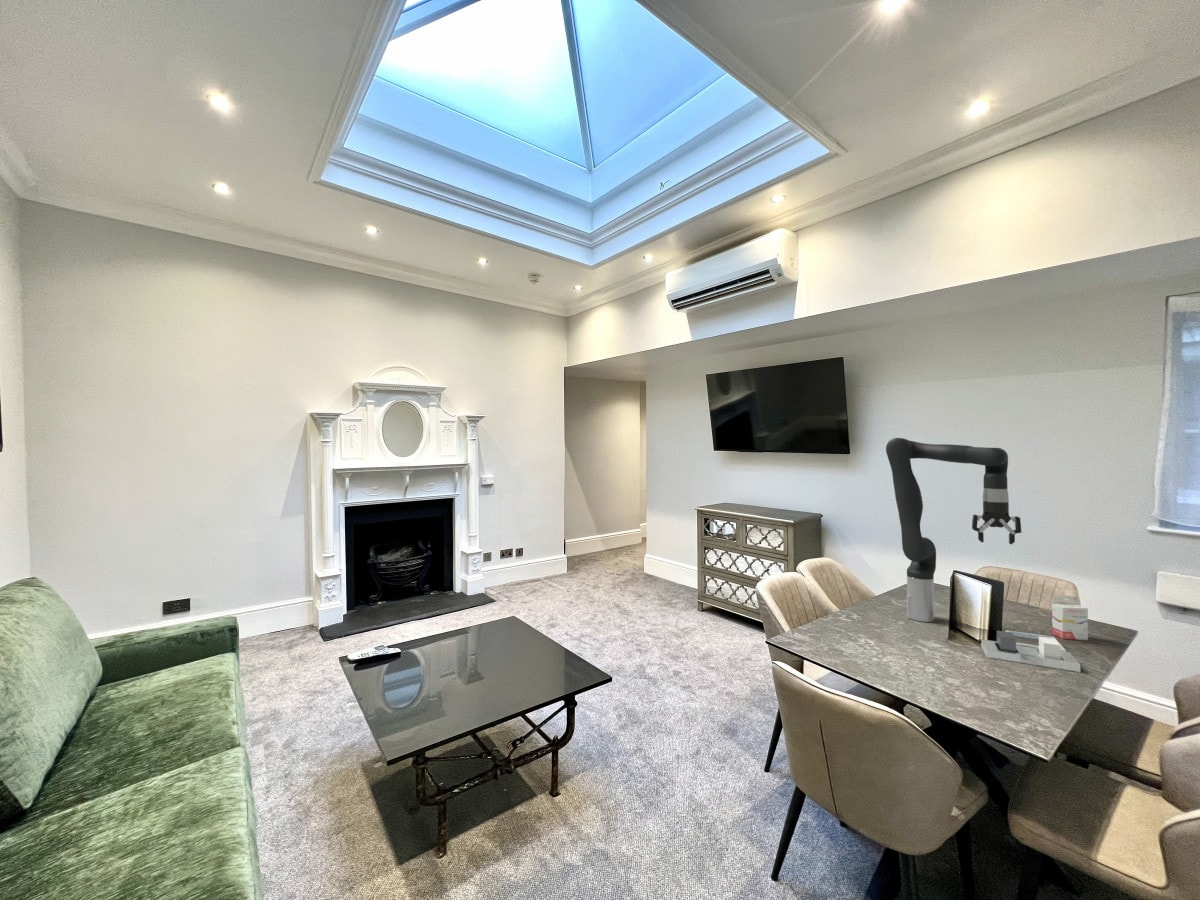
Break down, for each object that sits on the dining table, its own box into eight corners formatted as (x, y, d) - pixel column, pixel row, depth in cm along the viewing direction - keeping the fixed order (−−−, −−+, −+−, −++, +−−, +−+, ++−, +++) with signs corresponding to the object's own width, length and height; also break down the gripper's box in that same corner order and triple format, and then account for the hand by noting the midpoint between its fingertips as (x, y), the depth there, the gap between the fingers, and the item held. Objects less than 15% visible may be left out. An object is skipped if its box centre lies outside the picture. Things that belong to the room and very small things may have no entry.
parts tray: (1014, 647, 168) (1014, 643, 168) (1005, 634, 180) (1005, 630, 180) (1066, 655, 162) (1066, 650, 162) (1053, 640, 173) (1053, 636, 173)
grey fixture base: (986, 657, 161) (986, 636, 161) (981, 646, 170) (981, 626, 170) (1080, 672, 149) (1080, 649, 149) (1069, 659, 158) (1069, 638, 158)
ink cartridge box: (1063, 639, 174) (1062, 599, 174) (1051, 634, 179) (1051, 595, 179) (1089, 640, 173) (1088, 599, 173) (1076, 634, 178) (1076, 595, 178)
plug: (1044, 664, 155) (1043, 642, 155) (1039, 657, 160) (1038, 636, 160) (1060, 667, 153) (1060, 645, 153) (1055, 659, 158) (1054, 638, 158)
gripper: (973, 500, 182) (974, 543, 182) (1022, 502, 174) (1023, 546, 174) (970, 498, 188) (971, 539, 188) (1017, 500, 181) (1018, 542, 181)
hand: (996, 543), depth 181 cm, fingers open, 8 cm apart
